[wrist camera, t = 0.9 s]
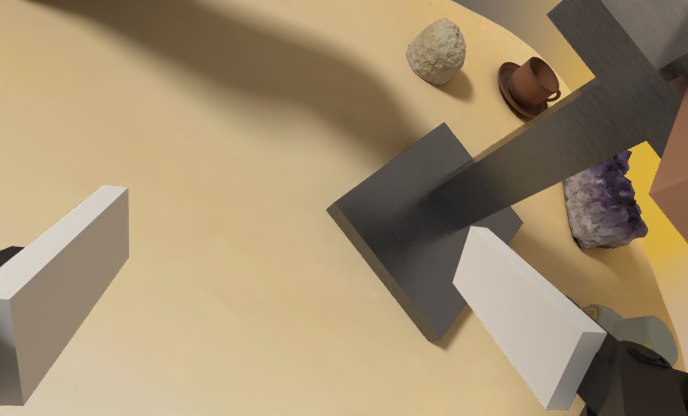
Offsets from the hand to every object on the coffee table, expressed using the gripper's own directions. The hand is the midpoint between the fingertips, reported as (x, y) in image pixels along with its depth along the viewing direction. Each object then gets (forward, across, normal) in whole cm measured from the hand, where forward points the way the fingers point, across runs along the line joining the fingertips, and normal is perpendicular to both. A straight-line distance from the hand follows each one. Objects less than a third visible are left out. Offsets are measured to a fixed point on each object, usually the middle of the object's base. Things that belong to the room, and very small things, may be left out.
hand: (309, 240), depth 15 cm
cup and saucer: (+56, +42, +6) cm, 70 cm away
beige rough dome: (+51, +22, +8) cm, 56 cm away
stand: (+30, +19, -10) cm, 37 cm away
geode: (+44, +52, -9) cm, 69 cm away
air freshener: (+24, +43, -24) cm, 55 cm away
